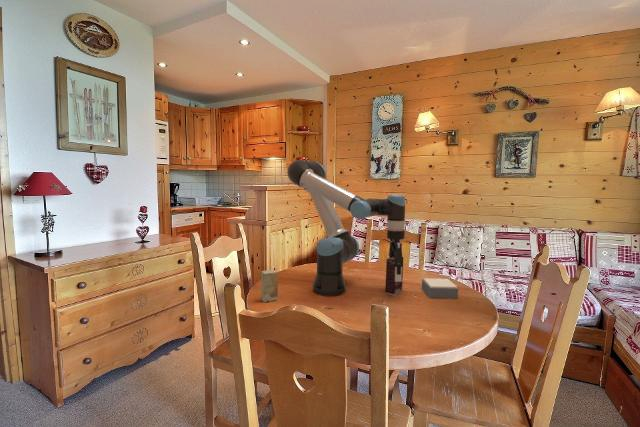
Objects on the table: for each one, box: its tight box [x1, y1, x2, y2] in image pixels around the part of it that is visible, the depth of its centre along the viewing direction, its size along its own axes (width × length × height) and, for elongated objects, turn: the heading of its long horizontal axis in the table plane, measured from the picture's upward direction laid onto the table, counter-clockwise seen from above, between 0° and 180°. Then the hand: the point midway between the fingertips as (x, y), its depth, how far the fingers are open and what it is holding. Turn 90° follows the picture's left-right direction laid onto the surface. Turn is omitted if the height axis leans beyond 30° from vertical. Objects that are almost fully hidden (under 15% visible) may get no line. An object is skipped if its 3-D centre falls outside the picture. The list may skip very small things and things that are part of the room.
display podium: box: [421, 277, 459, 299], centre depth 144 cm, size 12×12×5 cm
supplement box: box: [384, 256, 405, 297], centre depth 145 cm, size 9×5×16 cm, turn 143°
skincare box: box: [260, 269, 279, 303], centre depth 135 cm, size 6×4×12 cm
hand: (395, 276), depth 145 cm, fingers open, 13 cm apart
